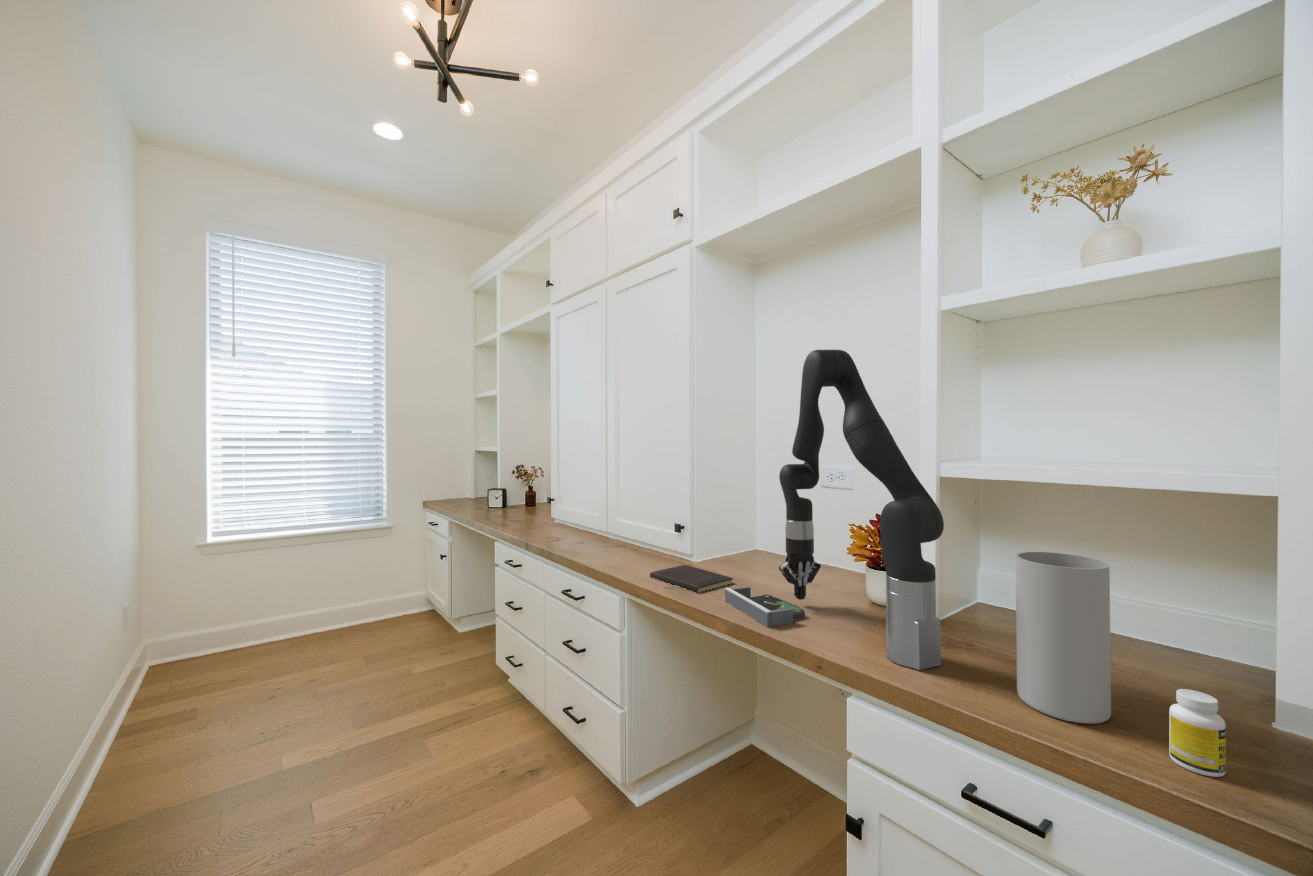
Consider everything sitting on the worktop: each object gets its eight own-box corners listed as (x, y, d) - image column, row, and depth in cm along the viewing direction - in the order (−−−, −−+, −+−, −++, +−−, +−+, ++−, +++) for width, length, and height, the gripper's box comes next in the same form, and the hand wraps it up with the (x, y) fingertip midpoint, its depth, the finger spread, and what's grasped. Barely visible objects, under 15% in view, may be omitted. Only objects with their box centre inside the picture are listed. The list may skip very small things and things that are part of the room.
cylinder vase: (1023, 681, 95) (1021, 548, 95) (1112, 704, 86) (1110, 559, 86) (1011, 706, 86) (1009, 560, 86) (1109, 736, 77) (1107, 573, 77)
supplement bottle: (1230, 784, 66) (1229, 710, 66) (1171, 766, 70) (1170, 696, 70) (1222, 764, 70) (1221, 694, 70) (1167, 748, 74) (1166, 682, 74)
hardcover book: (684, 571, 178) (684, 564, 178) (733, 585, 161) (733, 578, 161) (649, 579, 168) (649, 572, 168) (697, 595, 150) (697, 587, 150)
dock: (793, 623, 125) (793, 608, 125) (767, 627, 123) (767, 611, 123) (748, 598, 145) (748, 585, 145) (725, 601, 143) (725, 588, 143)
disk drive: (738, 609, 138) (775, 626, 125) (738, 599, 138) (775, 615, 125) (767, 603, 143) (806, 618, 130) (767, 593, 143) (805, 607, 130)
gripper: (787, 540, 133) (788, 605, 133) (828, 536, 138) (828, 599, 138) (771, 535, 140) (772, 597, 140) (810, 532, 145) (811, 592, 145)
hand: (800, 598), depth 139 cm, fingers closed
